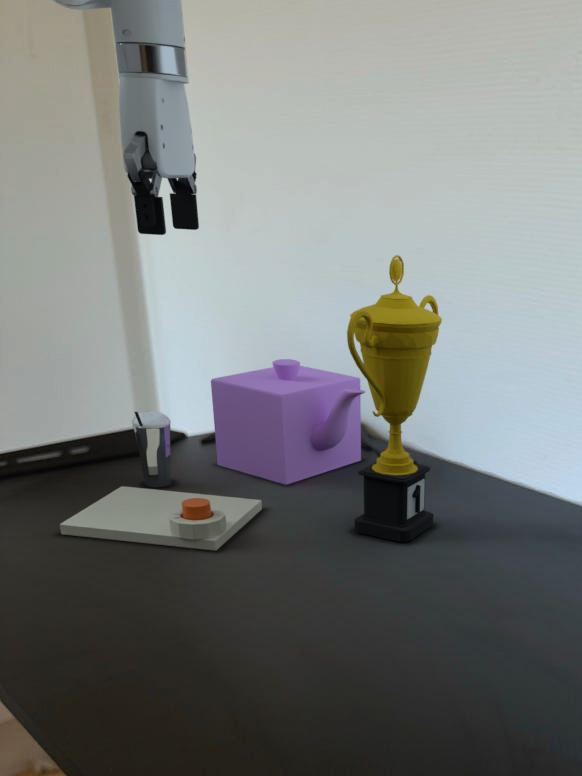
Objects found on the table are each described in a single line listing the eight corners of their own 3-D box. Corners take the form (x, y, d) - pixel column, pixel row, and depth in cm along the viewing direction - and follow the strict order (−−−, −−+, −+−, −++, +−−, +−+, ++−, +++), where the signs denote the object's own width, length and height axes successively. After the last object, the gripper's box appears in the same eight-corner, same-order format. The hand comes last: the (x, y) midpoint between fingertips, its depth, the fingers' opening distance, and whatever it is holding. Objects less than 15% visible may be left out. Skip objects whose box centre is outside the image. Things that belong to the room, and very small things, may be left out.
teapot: (326, 496, 118) (323, 385, 112) (193, 457, 130) (183, 355, 124) (400, 470, 130) (401, 368, 123) (271, 437, 141) (266, 342, 135)
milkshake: (128, 488, 117) (118, 409, 113) (151, 476, 122) (143, 400, 117) (161, 493, 116) (152, 413, 112) (183, 480, 121) (175, 404, 116)
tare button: (178, 520, 101) (176, 505, 100) (190, 511, 103) (188, 496, 103) (204, 523, 100) (203, 508, 100) (215, 514, 103) (214, 499, 102)
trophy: (390, 564, 100) (392, 265, 86) (314, 546, 103) (304, 256, 89) (466, 512, 115) (478, 253, 102) (397, 499, 119) (400, 246, 105)
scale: (58, 535, 102) (54, 510, 101) (122, 495, 115) (119, 471, 114) (214, 552, 100) (212, 526, 99) (262, 509, 113) (260, 485, 112)
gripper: (154, 72, 112) (170, 225, 120) (82, 57, 97) (106, 234, 105) (213, 74, 112) (225, 229, 120) (151, 59, 96) (169, 238, 104)
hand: (169, 231), depth 112 cm, fingers open, 9 cm apart
